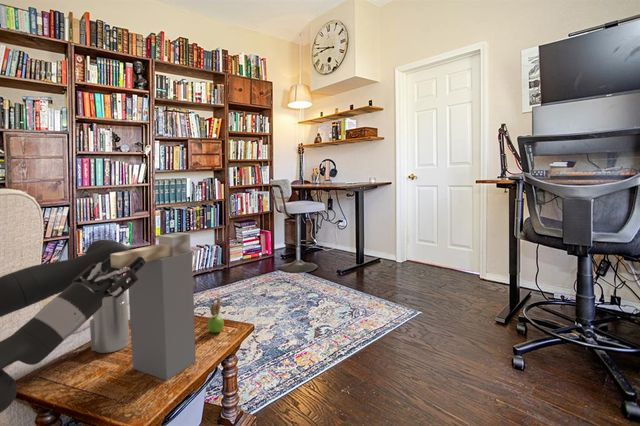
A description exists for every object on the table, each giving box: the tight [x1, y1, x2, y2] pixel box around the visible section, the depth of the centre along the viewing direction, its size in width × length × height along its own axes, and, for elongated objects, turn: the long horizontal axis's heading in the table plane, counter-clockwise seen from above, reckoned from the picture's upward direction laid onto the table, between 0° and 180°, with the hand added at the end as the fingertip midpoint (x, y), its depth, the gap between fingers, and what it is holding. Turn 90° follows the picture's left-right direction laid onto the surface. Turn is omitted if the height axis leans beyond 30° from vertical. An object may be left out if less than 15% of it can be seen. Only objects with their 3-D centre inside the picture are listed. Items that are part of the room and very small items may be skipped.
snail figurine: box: [206, 293, 225, 334], centre depth 117 cm, size 5×6×12 cm
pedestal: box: [127, 251, 197, 381], centre depth 95 cm, size 10×13×32 cm
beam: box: [110, 231, 192, 269], centre depth 87 cm, size 20×5×5 cm, turn 155°
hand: (130, 257), depth 81 cm, fingers open, 8 cm apart
